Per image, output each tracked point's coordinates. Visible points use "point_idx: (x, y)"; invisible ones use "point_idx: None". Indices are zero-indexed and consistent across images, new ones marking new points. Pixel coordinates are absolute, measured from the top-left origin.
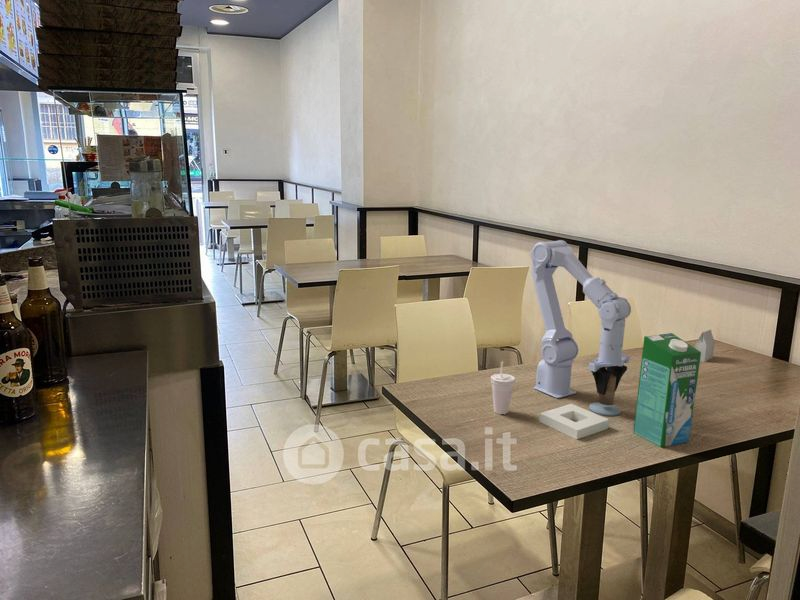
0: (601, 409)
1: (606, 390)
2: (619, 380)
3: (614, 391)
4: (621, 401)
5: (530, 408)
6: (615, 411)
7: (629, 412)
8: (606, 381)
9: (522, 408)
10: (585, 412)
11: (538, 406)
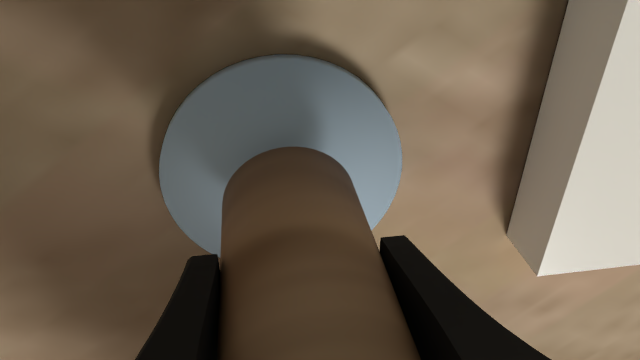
0: None
1: (383, 264)
2: (151, 356)
3: (276, 231)
4: (4, 228)
5: (612, 334)
6: (264, 93)
7: (114, 42)
8: (502, 349)
9: (637, 344)
10: (631, 128)
11: (560, 339)
